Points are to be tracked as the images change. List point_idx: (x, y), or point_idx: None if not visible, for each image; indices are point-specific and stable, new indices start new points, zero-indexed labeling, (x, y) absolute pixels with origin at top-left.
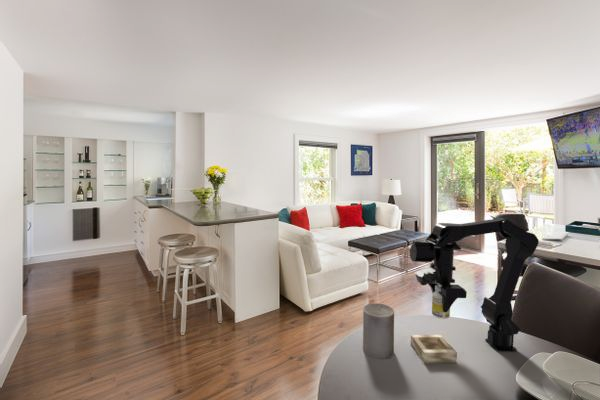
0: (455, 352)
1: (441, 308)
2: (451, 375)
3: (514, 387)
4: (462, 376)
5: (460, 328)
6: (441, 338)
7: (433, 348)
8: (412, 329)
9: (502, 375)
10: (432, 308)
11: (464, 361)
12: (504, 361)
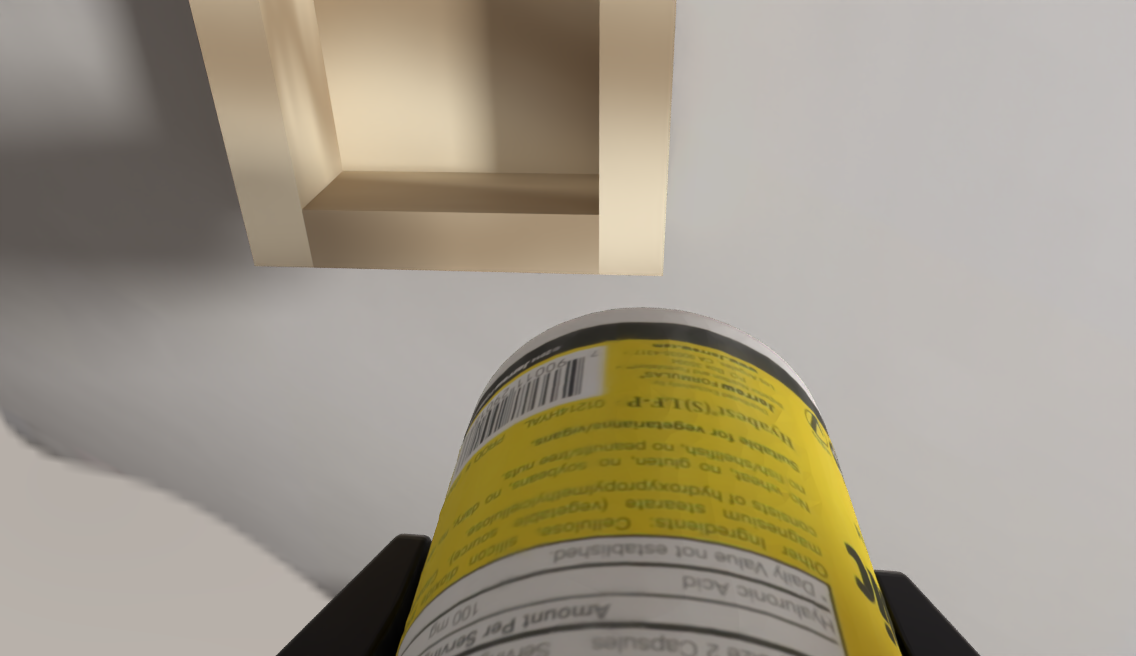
0: (251, 247)
1: (426, 563)
2: (74, 47)
3: (81, 462)
4: (94, 155)
5: (948, 576)
6: (566, 242)
7: (532, 81)
8: (1113, 11)
9: (209, 473)
10: (671, 391)
11: (352, 304)
12: None
